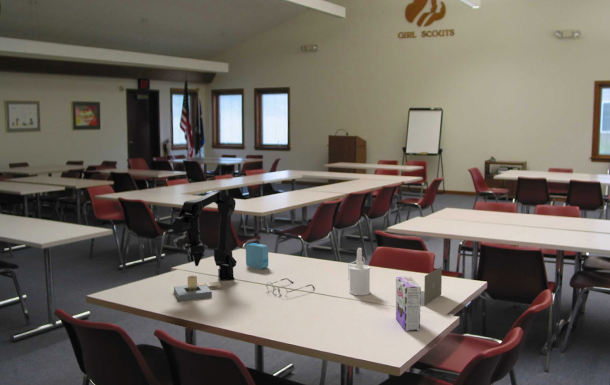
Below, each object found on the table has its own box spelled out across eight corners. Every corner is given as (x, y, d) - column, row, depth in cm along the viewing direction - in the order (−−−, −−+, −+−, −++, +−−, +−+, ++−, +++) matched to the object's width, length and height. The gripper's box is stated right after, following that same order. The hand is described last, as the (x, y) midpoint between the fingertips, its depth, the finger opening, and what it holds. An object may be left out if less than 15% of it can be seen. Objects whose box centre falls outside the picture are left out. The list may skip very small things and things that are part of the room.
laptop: (414, 291, 251) (414, 262, 249) (441, 296, 243) (442, 266, 242) (396, 302, 236) (397, 271, 234) (425, 307, 229) (425, 276, 227)
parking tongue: (218, 284, 263) (218, 281, 263) (221, 287, 258) (221, 284, 257) (205, 286, 261) (205, 282, 261) (208, 289, 255) (208, 286, 255)
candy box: (395, 318, 215) (395, 276, 213) (410, 317, 215) (410, 275, 213) (404, 331, 201) (405, 286, 199) (420, 331, 202) (421, 286, 200)
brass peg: (196, 292, 250) (195, 275, 250) (198, 295, 247) (197, 277, 246) (187, 294, 249) (186, 276, 248) (188, 296, 245) (188, 278, 244)
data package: (268, 268, 293) (268, 245, 291) (262, 269, 289) (262, 246, 288) (251, 264, 300) (251, 242, 299) (245, 266, 297) (245, 243, 295)
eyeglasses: (262, 291, 252) (262, 281, 252) (291, 283, 266) (291, 272, 265) (288, 299, 242) (287, 287, 241) (317, 289, 255) (316, 278, 255)
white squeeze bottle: (374, 292, 249) (374, 247, 246) (361, 297, 242) (361, 251, 239) (355, 287, 256) (355, 244, 253) (342, 292, 249) (342, 247, 247)
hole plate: (205, 288, 257) (205, 282, 257) (211, 297, 244) (211, 291, 244) (174, 292, 252) (173, 286, 252) (179, 301, 239) (178, 294, 239)
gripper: (170, 227, 256) (172, 260, 258) (178, 235, 238) (180, 271, 241) (195, 225, 260) (197, 258, 262) (204, 232, 243) (205, 267, 245)
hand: (194, 263), depth 252 cm, fingers open, 9 cm apart
